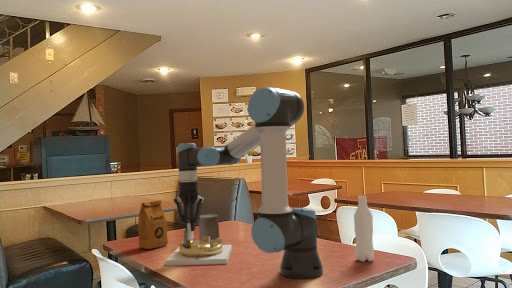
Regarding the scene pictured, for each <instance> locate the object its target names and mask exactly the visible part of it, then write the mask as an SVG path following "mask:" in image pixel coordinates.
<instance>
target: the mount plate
mask: <svg viewBox="0 0 512 288" xmlns="http://www.w3.org/2000/svg"><path fill="white" fill-rule="evenodd" d="M222 249H223V250H222V252H220V253H218V254H215V255H211V256H204V257H188V256H183V255H181V254H180V245H178V247H177V248H176V249H175V250H174V251H173V252H172V254H171V255H169V257H168V258H167V259H166V260H165V264H166V265H165V266H167V267H168V266H192V265H193V266H195V265H197V266H199V265H204V266H205V265H227V264H228V262H229V260H230V256H231V253H232V250H233V244H222Z"/></svg>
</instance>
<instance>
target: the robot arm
mask: <svg viewBox="0 0 512 288" xmlns="http://www.w3.org/2000/svg"><path fill="white" fill-rule="evenodd" d="M304 112H305V102H304V100H303V98H302V97H301V95H300V94H299V93H298V92H296V91H293V90H291V89H290V90H289V89H285V88H283V89H282V88H278V87H275V86H274V87H273V86H271V87H270V86H268V87H267V86H264V87H263V86H262V87H260V88H257V89H255V91H253V93H252V95H250V97H249V99H248V102H247V113H248V117H250V119H251V120H252V121H253V122H254V124H253V125H251V126H250V127H249V128H247V129H246V130H245V131H243V132H242V133H241V134H240V135H238V136H236V137H235V138H234V139H232V140H231V141H229V143H226V144H225V145H224V146H203V147H197V144H196V143H194V142H192V143H191V142H189V143H179V144H178V145H177V154H176V155H177V164H178V168H177V169H178V181H179V182H178V186H179V187H178V188H179V194H178V196H177V197H176V198H173V202H174V204H175V205H176V209H177V212H178V216H179V220H180V222H181V223H184V224H185V230H186V231H188V240H191V239H193V240H194V235H195V234H194V231H196V223H197V222H199V218H200V215H201V214H202V213H201V212H202V207H203V203H204V201H205V198H204V197H202V196H201V195H200V194H199V183H198V181H197V180H198V167H215V166H233V165H237V164H238V163H240V161H241V159H242V157H243V156H244V155H246V154H247V153H249V152H250V151H252V150H254V149H256V147H258V146H259V145H260V148H259V149H260V172H261V173H260V175H261V176H260V177H261V178H260V179H261V206H260V207H259V209H258V210H257V219H255V221H254V222H253V224H252V225H251V230H250V231H251V238H252V240H253V243H254V244H255V245H256V246H257V248H258V249H259V250H260V251H262V252H263V253H266V254H274V253H281V252H282V251H284V252H283V254H282V255H283V256H282V258H281V262H280V266H279V271H280V273H279V274H280V275H281V276H283V277H285V278H289V279H296V280H305V279H307V280H308V279H313V278H317V277H320V276H322V275H323V273H324V270H323V269H324V268H323V267H324V266H323V264H322V260H321V258H320V255H319V252H318V240H317V238H318V236H317V215H316V211H315V210H314V209H312V208H307V207H306V208H304V207H291V206H290V205H289V196H288V195H289V194H288V190H289V189H288V165H287V163H288V162H287V161H288V160H287V159H288V158H287V132H288V131H289V130H290V128H291V127H292V126H294V125H295V124H297V123H298V122H299V121H300V120H301V119H302V117H303V116H304ZM196 201H197V204H196Z"/></svg>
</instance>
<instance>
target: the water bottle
mask: <svg viewBox="0 0 512 288" xmlns="http://www.w3.org/2000/svg"><path fill="white" fill-rule="evenodd" d="M357 198H358V201H357V204H358V205H357V208H356V209H355V211H354V214H353V219H354V220H353V222H354V223H353V224H354V235H355V248H354V249H355V250H354V254H355V257H356V260H358V261H360V262H366V260H367V261H368V262H371V261H373V259H374V257H375V247H374V244H373V241H374V240H373V234H374V227H373V225H374V223H373V218H374V217H373V213H372V212H371V210H370V208H369V206H368V199H367V195H358V197H357Z"/></svg>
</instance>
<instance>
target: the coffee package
mask: <svg viewBox="0 0 512 288" xmlns="http://www.w3.org/2000/svg"><path fill="white" fill-rule="evenodd" d="M161 204H162V199H159V200H154V201H145V202H142V203H141V206H140V209H139V213H138V219H137V221H138V224H137V225H138V248H139V249H145V250H153V249H158V248H162V247H165V246H167V245H168V241H169V240H168V223H167V218H166V215H165V212H164V211H163V208H162V207H163V206H162V205H161Z"/></svg>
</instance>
